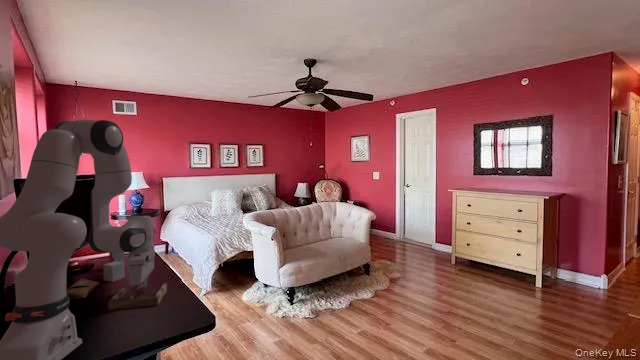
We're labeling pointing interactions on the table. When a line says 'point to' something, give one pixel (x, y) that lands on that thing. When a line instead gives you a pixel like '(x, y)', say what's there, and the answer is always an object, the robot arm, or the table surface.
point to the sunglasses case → (81, 288)
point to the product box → (113, 271)
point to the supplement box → (116, 257)
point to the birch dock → (136, 299)
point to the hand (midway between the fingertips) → (143, 287)
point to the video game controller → (134, 292)
